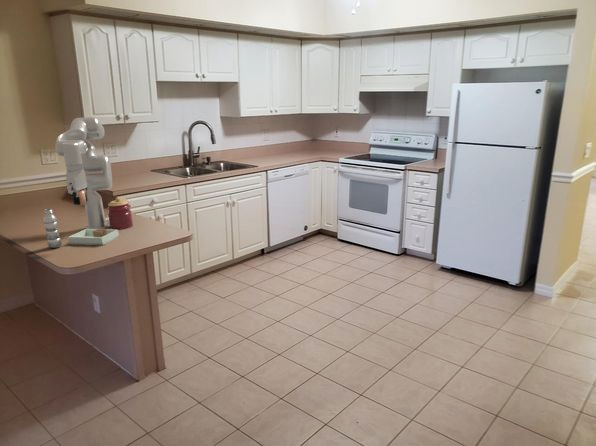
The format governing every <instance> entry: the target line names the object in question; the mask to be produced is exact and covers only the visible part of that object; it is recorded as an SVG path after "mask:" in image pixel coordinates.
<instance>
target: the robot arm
mask: <svg viewBox="0 0 596 446" xmlns="http://www.w3.org/2000/svg"><path fill="white" fill-rule="evenodd" d="M104 137H105V127H104V126H103V124H102V122H101V121H100V119H98V118H97V117H94V116H87V117H76V118H74V119H73V120H72V122H71V124H70V128H69V130H66V131H65V132H63V133H61V134H59V135H58V137H57V138H56V141H55V146H54V148H55V152H56V154H57V155H58V156H61V157H64V162H65V169H66V172H65V181H66V182H65V183H66V189H67V193H68V194H69V195H70V196H71V198H73V199H72V200H73V205H75V206H76V205H80V204H81V203H80V198H79V197H78V191H79V190H84V191H85V197H86V203H87V204H86V205H84V210H85V215H86V221H87V226H85V229H108V227H110V225H109V224H110V223H108V221H109V216H107V217H105V211H104V205H103V199H102V196H101V194H99V193H98V192H97V191H105V190H106V191H107V190H111V189H112V188H113V174H112V163H111V159H110V157H108V155H105V154H100V155H97V152H96V150H97V149H96V147H95V146H94V145H93V144H92V142H90V141H89V140H101V139H104ZM86 173H87V174H86ZM74 192H76V194H75V193H74Z"/></svg>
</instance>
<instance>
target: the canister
mask: <svg viewBox="0 0 596 446" xmlns="http://www.w3.org/2000/svg"><path fill="white" fill-rule="evenodd" d="M129 203H130V202H129V201H127V200H126V199H121V198H120V197H118V196H117V197H116V198H115V200H112V201H110V202H109V203H108V204H107V205H108V207H107V208H106V209H107V211H108V213H107V217H108V218H109V220H108V221H109V223H108V224H109V227H110V230H125V229H128V228H129V229H130V228H132V227H133V226H134V221H133V215H132V210H131V205H130V204H129Z"/></svg>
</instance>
